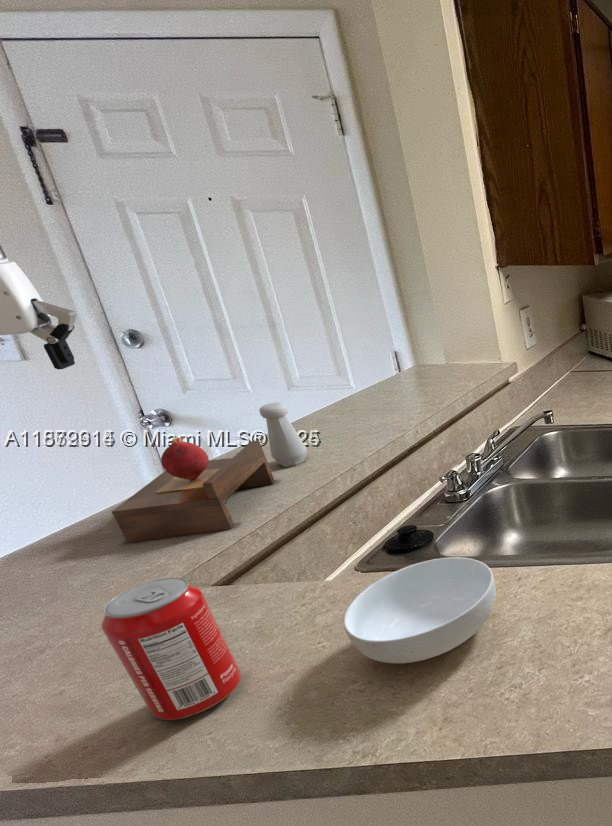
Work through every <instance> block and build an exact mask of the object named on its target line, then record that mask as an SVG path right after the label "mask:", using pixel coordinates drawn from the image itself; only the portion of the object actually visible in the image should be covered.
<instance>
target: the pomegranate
mask: <svg viewBox="0 0 612 826" xmlns="http://www.w3.org/2000/svg"><path fill="white" fill-rule="evenodd" d="M209 460H210V459H209V455H208V454H207V452H206V451H205V450H204V449H203V448H202V447H200V446H199V445H197V444H195V443H191V442H189V441H183V438H182V437H178V436H176V437H173V438H172V441H171V443H170V445H169V446H168V447H167V448H166V449H164V451H163V453H162V454H161V457H160V463H161V467H162V468H163V470H164V471H166V472H167V473H169V474H170V475H172V476H175V477H178V478H182V479H188V480H194V479H197V478H198V477H199V475H200V474H201V473H202V472H203V471H204V470H205V469H206V468H207V465H208V462H209Z"/></svg>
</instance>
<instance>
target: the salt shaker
mask: <svg viewBox="0 0 612 826" xmlns="http://www.w3.org/2000/svg"><path fill="white" fill-rule="evenodd" d="M288 413H289V408H288V407H287V405H286V404H285V403H283V402H269V403H267V404H264V405H262V406H260V408H259V414H260V416H261V417H262V418H263V419H265V420H266V426H267V434H268V441H269V449H270V455H271V457H272V459H273V460H274V461H275V462H277V463H278V465H280V466H282V467H284V468H287V467H295V466H298V465H300V464H303V463H305V460H306V456H307V453H308V448H307V446H306V445H305V443H304V442H303V440H302V439H301V437H300V436H299V434H298V433H297V431H296V429H295V428H294V426H293V424H292V423H291V421H290V420H289V418H288V417H287V414H288Z"/></svg>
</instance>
